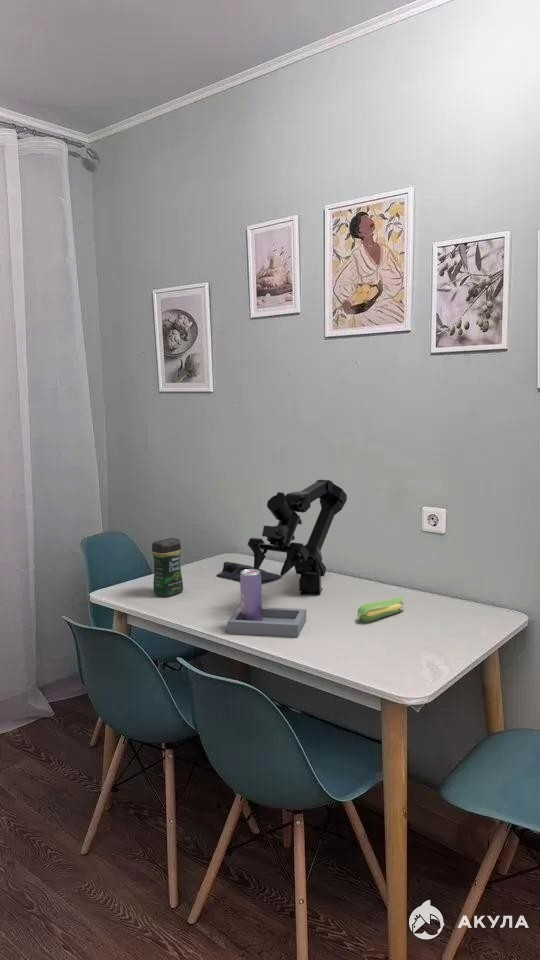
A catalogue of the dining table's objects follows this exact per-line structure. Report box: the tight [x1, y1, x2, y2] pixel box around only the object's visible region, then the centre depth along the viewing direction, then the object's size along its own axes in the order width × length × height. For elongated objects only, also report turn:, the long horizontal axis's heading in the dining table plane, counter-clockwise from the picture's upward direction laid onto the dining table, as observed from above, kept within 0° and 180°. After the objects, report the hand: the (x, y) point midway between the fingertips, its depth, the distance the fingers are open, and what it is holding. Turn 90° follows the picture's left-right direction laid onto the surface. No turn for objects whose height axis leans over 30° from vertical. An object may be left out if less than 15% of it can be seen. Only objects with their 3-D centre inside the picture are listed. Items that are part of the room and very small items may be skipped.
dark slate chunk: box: [216, 561, 283, 584], centre depth 249 cm, size 15×22×5 cm
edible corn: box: [357, 596, 405, 623], centre depth 205 cm, size 5×20×5 cm
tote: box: [226, 605, 307, 638], centre depth 199 cm, size 20×13×4 cm, turn 77°
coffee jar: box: [151, 537, 184, 598], centre depth 231 cm, size 10×8×19 cm
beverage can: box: [239, 569, 263, 621], centre depth 199 cm, size 6×6×15 cm
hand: (267, 573), depth 205 cm, fingers open, 9 cm apart
